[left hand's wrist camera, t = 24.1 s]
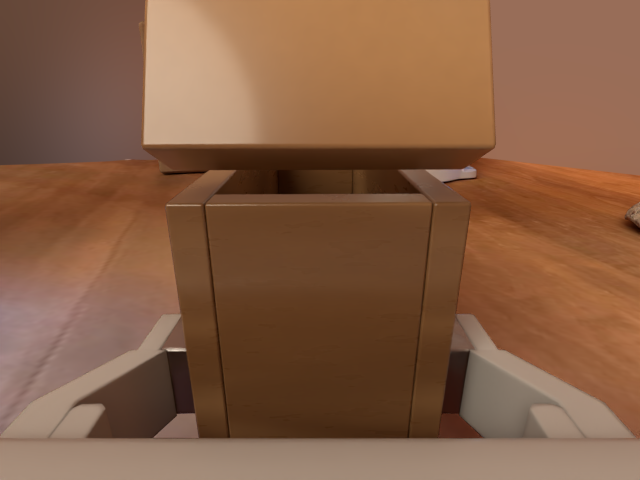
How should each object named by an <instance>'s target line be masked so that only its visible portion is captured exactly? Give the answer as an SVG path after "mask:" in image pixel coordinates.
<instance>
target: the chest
mask: <svg viewBox="0 0 640 480" xmlns="http://www.w3.org/2000/svg"><path fill="white" fill-rule="evenodd" d="M165 209H166V216H167V223H168V230H169V237H170V244H171V251H172V257H173V264H174V271H175V278H176V285H177V292H178V298H179V305H180V312H181V319H182V326H183V333H184V340H185V346H186V353H187V360H188V367H189V374H190V381H191V387H192V394H193V401H194V408H195V415H196V422H197V429H198V435H199V438H438V435H439V428H440V421H441V414H442V407H443V400H444V393H445V386H446V379H447V372H448V365H449V358H450V351H451V344H452V337H453V330H454V323H455V316H456V309H457V302H458V295H459V288H460V281H461V274H462V267H463V260H464V253H465V246H466V239H467V232H468V225H469V218H470V211H471V203H470V202H469V201H468V200H466V199H465V198H463V197H462V196H461V195H459V194H458V193H456V192H455V191H454V190H452V189H451V188H450V187H448V186H447V185H445V184H444V183H443V182H441V181H440V180H438V179H437V178H436V177H434V176H433V175H431V174H430V173H429V172H427V171H426V170H209V171H207V172H206V173H205V174H204V175H202V176H201V177H200V178H198V179H197V180H196V181H195V182H193V183H192V184H191V185H189V186H188V187H187V188H186V189H184V190H183V191H182V192H180V193H179V194H178V195H177V196H175V197H174V198H173V199H171V200H170V201H169V202H168V203H166V205H165Z"/></svg>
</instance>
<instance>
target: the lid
mask: <svg viewBox="0 0 640 480" xmlns="http://www.w3.org/2000/svg"><path fill="white" fill-rule="evenodd" d="M141 145H142V148H143V149H144V150H145V151H146V152H148V153H149V154H151V155H152V156H154V157H155V158H156V159H158V160H159V161H161V162H162V163H163V164H165V165H166V166H168V167H169V168H171V169H172V170H460V169H464V168H466V167H467V166H469V165H470V164H472V163H473V162H474V161H476V160H477V159H479V158H480V157H482V156H483V155H485V154H486V153H488V152H489V151H491V150H492V149H494V148H495V145H496V137H495V113H494V88H493V64H492V40H491V16H490V0H145V30H144V66H143V101H142V137H141Z"/></svg>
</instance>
